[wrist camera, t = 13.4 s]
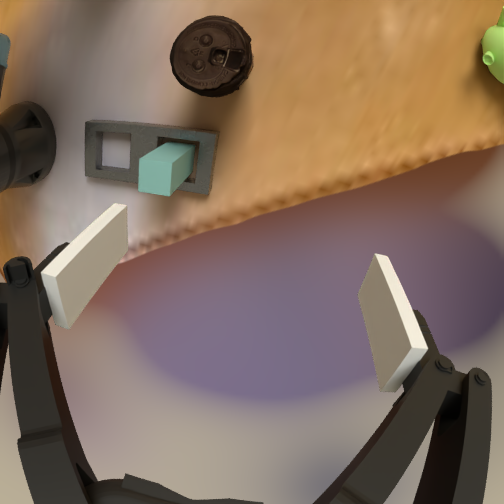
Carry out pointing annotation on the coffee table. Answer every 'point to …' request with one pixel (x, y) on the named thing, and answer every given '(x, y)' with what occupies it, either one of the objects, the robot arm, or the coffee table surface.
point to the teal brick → (165, 168)
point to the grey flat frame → (149, 150)
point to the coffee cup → (212, 56)
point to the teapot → (495, 49)
